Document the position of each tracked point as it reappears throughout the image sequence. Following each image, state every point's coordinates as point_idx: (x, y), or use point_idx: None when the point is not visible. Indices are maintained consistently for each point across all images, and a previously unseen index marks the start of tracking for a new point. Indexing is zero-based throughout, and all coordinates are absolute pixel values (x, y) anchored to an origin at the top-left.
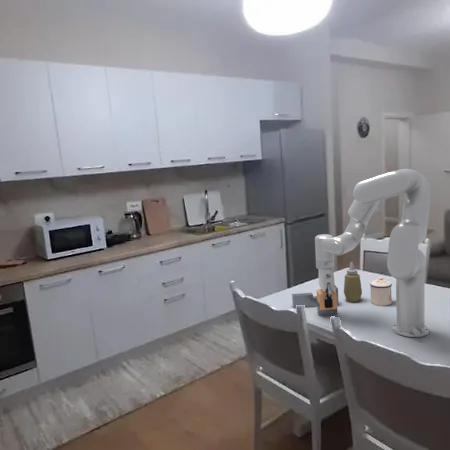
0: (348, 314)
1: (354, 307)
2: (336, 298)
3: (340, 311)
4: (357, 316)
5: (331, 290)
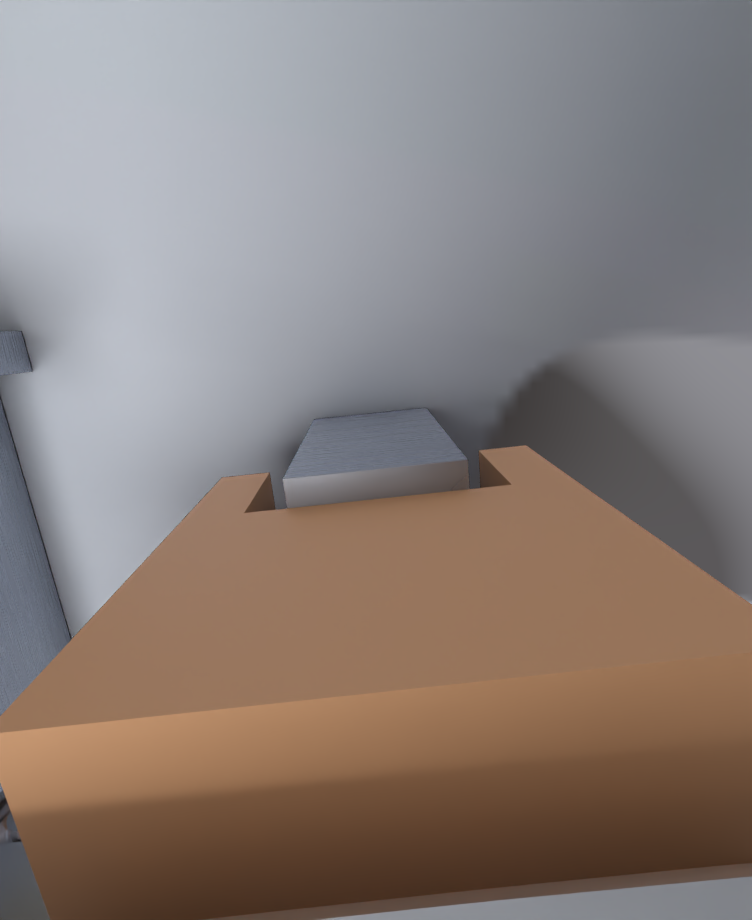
0: (449, 227)
1: (103, 34)
2: (641, 533)
3: (303, 341)
4: (560, 76)
5: (360, 819)
